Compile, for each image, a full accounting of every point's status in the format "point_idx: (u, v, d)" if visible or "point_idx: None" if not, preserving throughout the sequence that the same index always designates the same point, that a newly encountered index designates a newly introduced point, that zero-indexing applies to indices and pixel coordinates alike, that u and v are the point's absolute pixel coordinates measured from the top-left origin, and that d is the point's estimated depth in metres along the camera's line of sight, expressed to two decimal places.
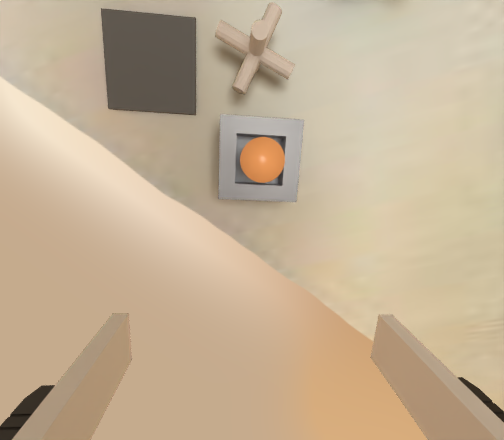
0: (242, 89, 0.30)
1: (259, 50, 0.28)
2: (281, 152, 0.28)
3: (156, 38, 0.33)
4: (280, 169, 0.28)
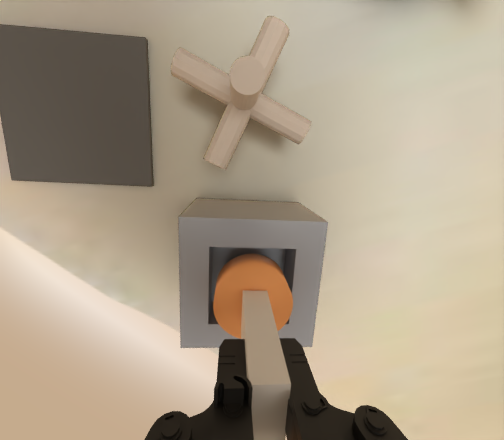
0: (220, 165, 0.18)
1: (248, 105, 0.15)
2: (287, 292, 0.15)
3: (82, 71, 0.20)
4: (285, 318, 0.16)
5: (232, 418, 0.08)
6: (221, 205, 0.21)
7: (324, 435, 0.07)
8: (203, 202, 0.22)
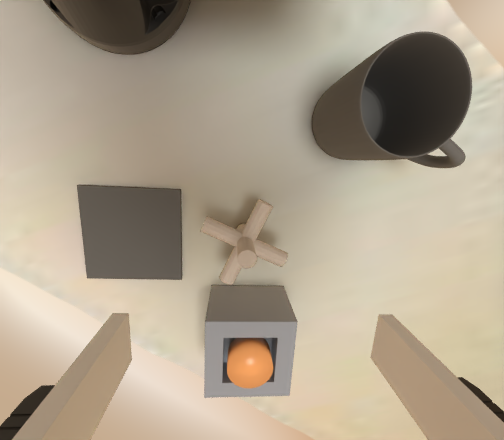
0: (230, 283, 0.28)
1: None
2: (269, 362, 0.27)
3: (138, 211, 0.31)
4: (268, 376, 0.27)
5: None
6: (229, 298, 0.31)
7: None
8: (217, 293, 0.32)
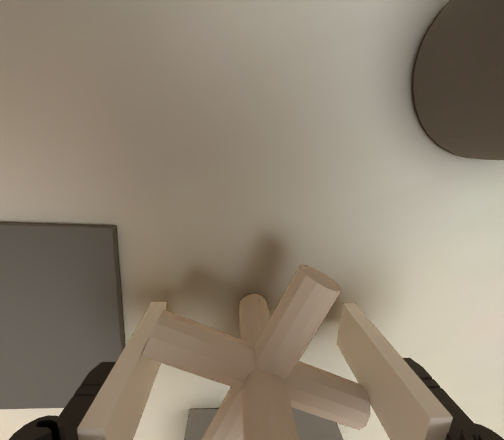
0: None
1: None
2: None
3: (18, 275, 0.14)
4: None
5: None
6: None
7: None
8: None
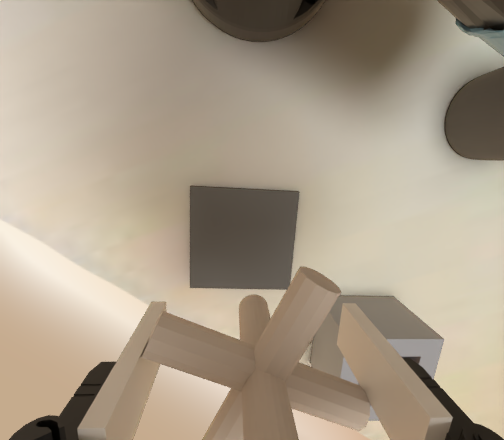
0: None
1: None
2: None
3: (252, 214, 0.28)
4: None
5: None
6: None
7: None
8: None
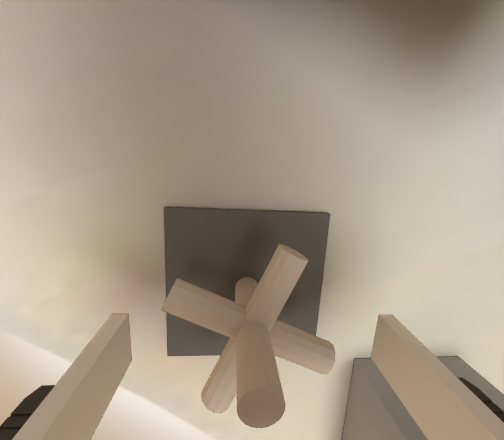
0: (222, 410, 0.14)
1: None
2: None
3: (259, 248, 0.19)
4: None
5: None
6: None
7: None
8: (378, 379, 0.20)
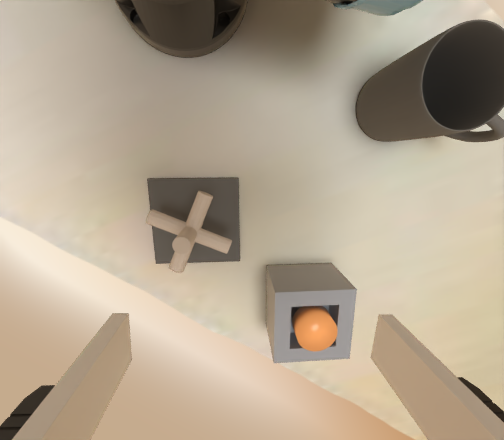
0: (178, 271, 0.30)
1: None
2: (334, 326, 0.30)
3: None
4: (333, 339, 0.30)
5: None
6: (288, 274, 0.34)
7: None
8: (275, 271, 0.35)
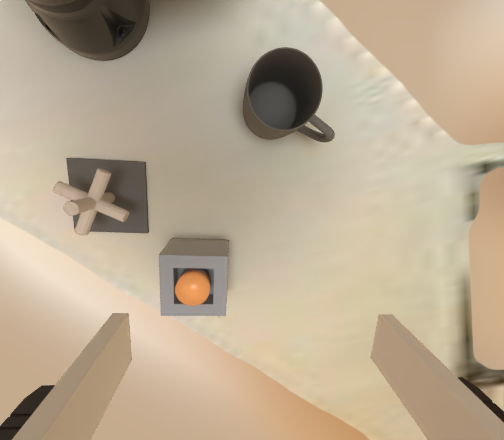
0: (81, 234, 0.36)
1: (85, 211, 0.34)
2: (206, 285, 0.37)
3: (113, 178, 0.40)
4: (206, 296, 0.37)
5: None
6: (183, 245, 0.41)
7: None
8: (174, 242, 0.42)
